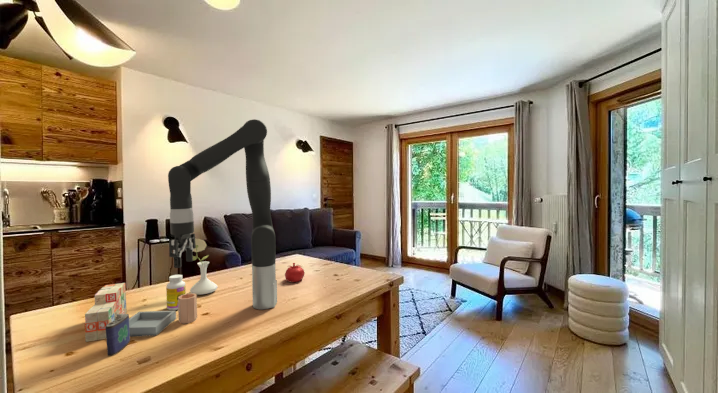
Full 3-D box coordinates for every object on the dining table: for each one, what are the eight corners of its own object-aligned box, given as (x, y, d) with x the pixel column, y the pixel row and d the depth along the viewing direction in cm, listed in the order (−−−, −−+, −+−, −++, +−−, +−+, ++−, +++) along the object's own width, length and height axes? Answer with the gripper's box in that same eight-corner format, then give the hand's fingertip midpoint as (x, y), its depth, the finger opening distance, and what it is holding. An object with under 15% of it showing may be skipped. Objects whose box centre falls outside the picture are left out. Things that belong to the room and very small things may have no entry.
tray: (176, 318, 117) (175, 310, 117) (155, 335, 104) (155, 327, 104) (139, 319, 116) (139, 311, 116) (114, 337, 103) (114, 328, 103)
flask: (123, 340, 101) (122, 308, 100) (133, 340, 101) (132, 307, 101) (104, 356, 92) (102, 321, 91) (115, 356, 92) (114, 320, 92)
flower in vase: (221, 287, 150) (220, 236, 149) (211, 296, 139) (209, 240, 137) (194, 288, 150) (192, 236, 148) (181, 297, 138) (179, 240, 137)
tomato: (308, 279, 164) (308, 262, 163) (294, 284, 155) (295, 266, 155) (294, 276, 169) (294, 259, 168) (280, 280, 160) (280, 263, 160)
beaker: (199, 316, 119) (198, 293, 118) (192, 323, 113) (191, 298, 113) (183, 316, 118) (183, 293, 118) (176, 323, 113) (175, 299, 112)
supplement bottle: (177, 311, 123) (176, 279, 123) (162, 310, 125) (161, 278, 124) (189, 305, 130) (188, 274, 129) (175, 303, 131) (174, 273, 130)
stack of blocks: (109, 338, 102) (107, 301, 102) (85, 342, 100) (83, 304, 99) (126, 313, 122) (125, 282, 121) (107, 316, 119) (105, 284, 119)
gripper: (182, 223, 108) (184, 269, 109) (201, 218, 122) (202, 259, 123) (160, 223, 108) (162, 270, 109) (181, 218, 122) (183, 259, 123)
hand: (183, 264), depth 116 cm, fingers open, 8 cm apart
